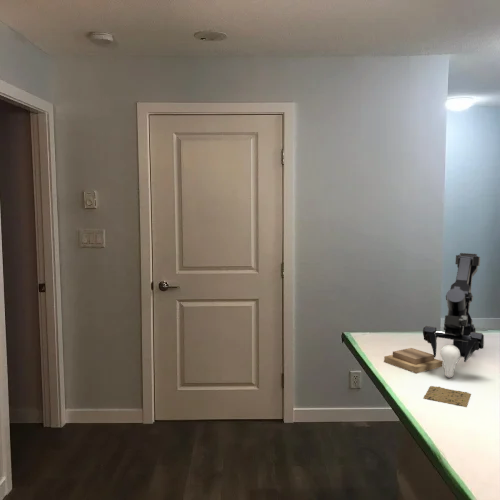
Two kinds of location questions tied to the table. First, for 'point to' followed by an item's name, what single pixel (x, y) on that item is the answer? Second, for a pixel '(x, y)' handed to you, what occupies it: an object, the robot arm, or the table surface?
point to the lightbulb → (450, 358)
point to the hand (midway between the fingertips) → (449, 359)
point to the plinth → (411, 366)
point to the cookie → (447, 396)
